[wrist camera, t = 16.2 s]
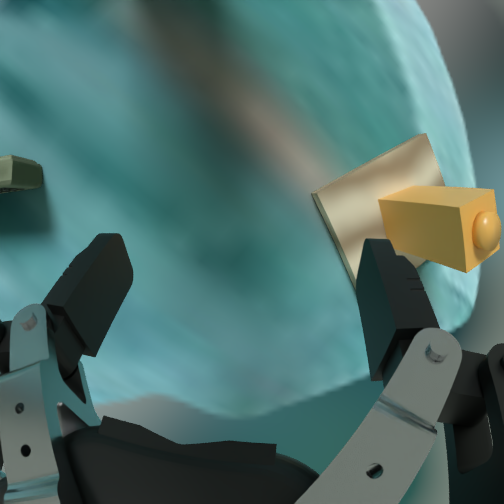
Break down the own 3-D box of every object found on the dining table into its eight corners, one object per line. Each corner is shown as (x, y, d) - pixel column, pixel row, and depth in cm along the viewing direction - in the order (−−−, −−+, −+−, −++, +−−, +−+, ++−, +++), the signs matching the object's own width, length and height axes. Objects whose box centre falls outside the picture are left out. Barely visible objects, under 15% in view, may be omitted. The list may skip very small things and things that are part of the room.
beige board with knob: (311, 193, 31) (334, 193, 25) (418, 134, 32) (448, 129, 27) (359, 301, 34) (385, 318, 29) (451, 231, 35) (479, 237, 30)
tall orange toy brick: (388, 247, 32) (476, 276, 19) (377, 199, 31) (470, 208, 18) (422, 230, 33) (508, 251, 20) (413, 185, 31) (503, 190, 19)
